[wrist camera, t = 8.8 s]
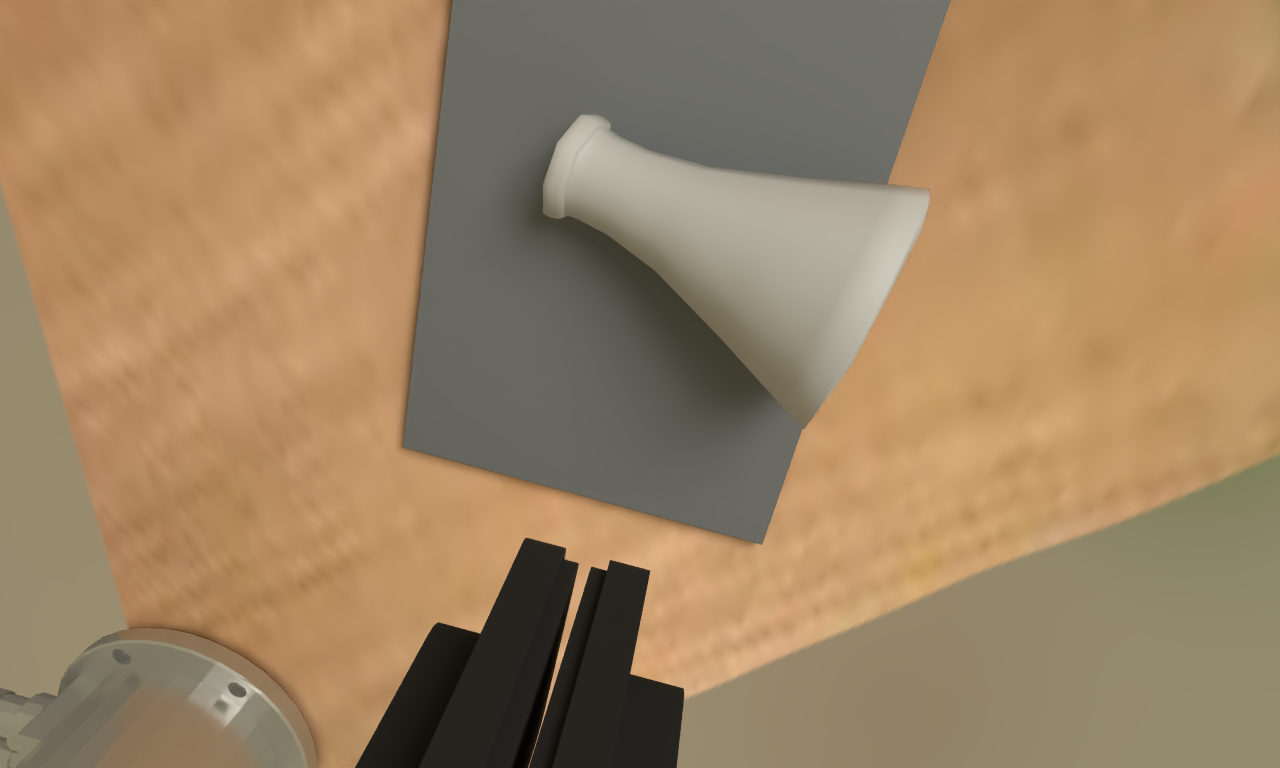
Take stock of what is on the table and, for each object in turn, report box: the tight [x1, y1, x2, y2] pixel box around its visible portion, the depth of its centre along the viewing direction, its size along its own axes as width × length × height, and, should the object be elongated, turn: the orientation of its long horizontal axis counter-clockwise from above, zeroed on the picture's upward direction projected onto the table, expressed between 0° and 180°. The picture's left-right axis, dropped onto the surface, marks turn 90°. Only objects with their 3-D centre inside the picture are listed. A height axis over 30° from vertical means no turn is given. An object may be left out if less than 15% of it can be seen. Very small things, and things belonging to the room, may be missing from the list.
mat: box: [403, 0, 950, 545], centre depth 27 cm, size 14×20×1 cm
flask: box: [543, 114, 930, 429], centre depth 24 cm, size 7×7×10 cm
